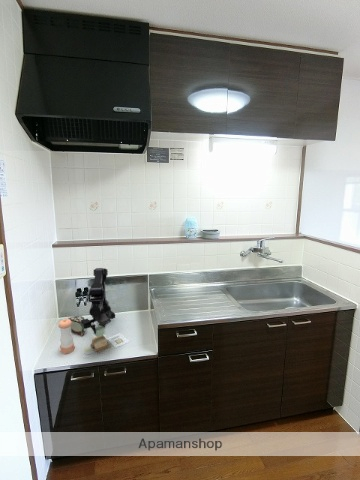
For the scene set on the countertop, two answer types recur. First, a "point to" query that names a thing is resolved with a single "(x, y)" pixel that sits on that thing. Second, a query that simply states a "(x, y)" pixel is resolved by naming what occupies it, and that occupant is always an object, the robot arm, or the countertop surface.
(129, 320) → the countertop surface
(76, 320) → the food container
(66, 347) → the pepper shaker
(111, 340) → the page
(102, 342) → the oak brick
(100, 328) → the sage brick
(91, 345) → the walnut base
